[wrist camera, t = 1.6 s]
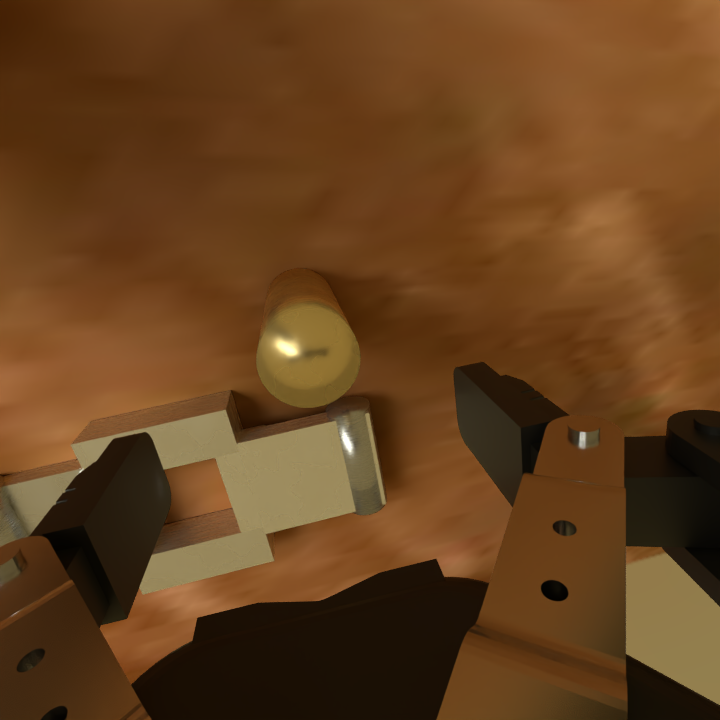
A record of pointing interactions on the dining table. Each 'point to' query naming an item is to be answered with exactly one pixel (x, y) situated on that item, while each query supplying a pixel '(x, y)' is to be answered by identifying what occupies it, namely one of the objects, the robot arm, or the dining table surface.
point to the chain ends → (225, 480)
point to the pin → (305, 342)
